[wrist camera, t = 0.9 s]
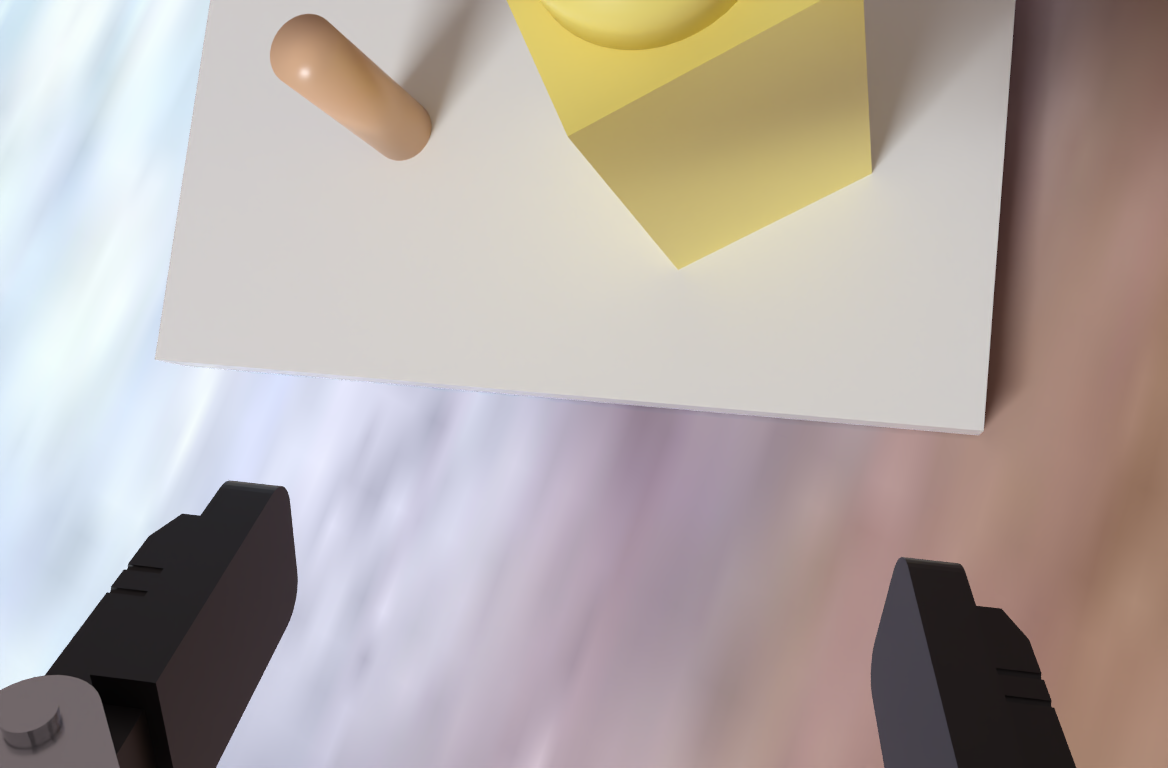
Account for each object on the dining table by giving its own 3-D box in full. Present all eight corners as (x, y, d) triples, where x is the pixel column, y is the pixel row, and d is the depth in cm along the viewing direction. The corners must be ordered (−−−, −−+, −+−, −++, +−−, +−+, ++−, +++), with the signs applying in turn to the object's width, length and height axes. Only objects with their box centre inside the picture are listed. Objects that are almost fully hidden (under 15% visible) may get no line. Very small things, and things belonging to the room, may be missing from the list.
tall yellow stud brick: (598, 97, 32) (423, -161, 20) (780, -2, 31) (710, -339, 19) (678, 269, 30) (541, 104, 18) (871, 173, 29) (860, -71, 17)
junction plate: (249, -70, 38) (101, -207, 31) (1019, -111, 31) (1059, -303, 24) (183, 365, 37) (11, 327, 29) (978, 435, 29) (1008, 406, 22)
